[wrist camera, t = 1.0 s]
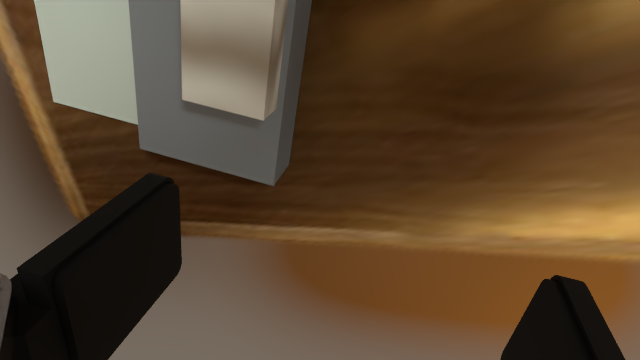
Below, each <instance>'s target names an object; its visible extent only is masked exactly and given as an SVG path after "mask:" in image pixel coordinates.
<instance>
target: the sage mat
mask: <svg viewBox="0 0 640 360" xmlns="http://www.w3.org/2000/svg"><path fill="white" fill-rule="evenodd" d="M34 2H35V7H36V12H37V17H38V23H39V28H40V33H41V38H42V44H43V49H44V54H45V59H46V65H47V70H48V75H49V81H50V86H51V91H52V96H53V102H56V103H60V104H63V105H67V106H71V107H74V108H78V109H82V110H85V111H89V112H93V113H96V114H100V115H104V116H107V117H111V118H115V119H118V120H122V121H126V122H130V123H133V124H137V125H138V117H137V104H136V91H135V78H134V65H133V53H132V40H131V27H130V14H129V1H128V0H34Z"/></svg>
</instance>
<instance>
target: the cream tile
mask: <svg viewBox="0 0 640 360" xmlns="http://www.w3.org/2000/svg"><path fill="white" fill-rule="evenodd" d="M180 3H181V65H182V100H185V101H189V102H193V103H197V104H201V105H205V106H209V107H212V108H216V109H220V110H224V111H228V112H232V113H236V114H240V115H243V116H247V117H251V118H255V119H259V120H263V121H264V120H265V119H266V118H267V117H268V116H269V115H270V114H271V113H272V112H273V111H275V110H276V106H277V97H278V88H279V79H280V70H281V62H282V53H283V44H284V35H285V26H286V17H287V8H288V0H180Z"/></svg>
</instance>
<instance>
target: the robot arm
mask: <svg viewBox="0 0 640 360" xmlns="http://www.w3.org/2000/svg"><path fill="white" fill-rule="evenodd" d="M181 264H182V257H181V229H180V202H179V188H178V186H177V185H175V184H174V181H173V179H172V178H169V177H166V176H162V175H158V174H154V173H149V174H147V175H145V176H144V177H142V178H141V179H140V180H138V181H137V182H136V183H134V184H133V185H131V186H130V187H129V188H127V189H126V190H124V191H123V192H122V193H120V194H119V195H118V196H116V197H115V198H113V199H112V200H111V201H109V202H108V203H106V204H105V205H104V206H102V207H101V208H99V209H98V210H97V211H95V212H94V213H93V214H91V215H90V216H88V217H87V218H86V219H84V220H83V221H81V222H80V223H79V224H77V225H76V226H75V227H73V228H72V229H70V230H69V231H68V232H66V233H65V234H63V235H62V236H61V237H59V238H58V239H56V240H55V241H54V242H52V243H51V244H50V245H48V246H47V247H45V248H44V249H43V250H41V251H40V252H38V253H37V254H36V255H34V256H33V257H32V258H30V259H29V260H27V261H26V262H25V263H23V264H22V265H21V266H19V267H18V268H17V270H18V274H17V275H15V276H14V277H13V278H11V279H10V280H9V279H8V278H7V276H5V275H3V274H0V360H108V359H109V357H110V356H111V355H112V354H113V353H114V351H115V350H116V349H117V348H118V346H119V345H120V344H121V343H122V342H123V340H124V339H125V338H126V337H127V335H128V334H129V333H130V332H131V331H132V329H133V328H134V327H135V326H136V325H137V323H138V322H139V321H140V320H141V318H142V317H143V316H144V315H145V314H146V312H147V311H148V310H149V309H150V307H151V306H152V305H153V304H154V303H155V301H156V300H157V299H158V298H159V297H160V295H161V294H162V293H163V292H164V290H165V289H166V288H167V287H168V286H169V284H170V283H171V282H172V281H173V279H174V278H175V277H176V276H177V274H178V272H179V270H180V268H181ZM501 360H625V358H624V357H623V354H622V352H621V350H620V349H619V347H618V345H617V343H616V341H615V339H614V337H613V335H612V333H611V331H610V330H609V328H608V326H607V324H606V322H605V320H604V318H603V316H602V314H601V312H600V310H599V309H598V307H597V305H596V303H595V301H594V299H593V297H592V295H591V293H590V291H589V289H588V287H587V286H586V284H585V283H584V282H582V281H579V280H575V279H571V278H566V277H562V276H559V275H555V276H553V277H552V278H551V279H550V280H549V279H544V280H543V281H542V282H541V284H540V286H539V288H538V289H537V291H536V293H535V295H534V297H533V298H532V300H531V302H530V304H529V306H528V307H527V309H526V311H525V313H524V315H523V317H522V318H521V320H520V322H519V324H518V325H517V327H516V329H515V331H514V333H513V334H512V336H511V338H510V340H509V342H508V344H507V345H506V347H505V349H504V351H503V353H502V355H501Z"/></svg>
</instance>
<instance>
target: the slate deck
mask: <svg viewBox="0 0 640 360" xmlns="http://www.w3.org/2000/svg"><path fill="white" fill-rule="evenodd" d="M128 1H129V14H130V27H131V40H132V53H133V65H134V78H135V91H136V104H137V117H138V130H139V142H140V149H143V150H147V151H150V152H154V153H157V154H161V155H164V156H168V157H171V158H175V159H179V160H182V161H186V162H189V163H193V164H196V165H200V166H204V167H207V168H211V169H214V170H218V171H221V172H225V173H228V174H232V175H236V176H239V177H243V178H246V179H250V180H253V181H257V182H261V183H264V184H268V185H271V186H274V185H275V183H276V182H277V181H278V179H279V178H280V176H281V175H282V174H283V172H284V171H285V169H286V168H287V167H288V165H289V161H290V154H291V147H292V140H293V132H294V125H295V118H296V111H297V104H298V97H299V90H300V83H301V76H302V68H303V61H304V54H305V47H306V40H307V33H308V26H309V19H310V12H311V4H312V0H288V8H287V17H286V26H285V35H284V44H283V53H282V62H281V70H280V79H279V88H278V97H277V106H276V110H275V111H273V112H272V113H271V114H270V115H269V116H268V117H267V118H266V119H265V120H264V121H263V120H259V119H255V118H251V117H247V116H243V115H240V114H236V113H232V112H228V111H224V110H220V109H216V108H212V107H209V106H205V105H201V104H197V103H193V102H189V101H185V100H182V65H181V3H180V0H128Z"/></svg>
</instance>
